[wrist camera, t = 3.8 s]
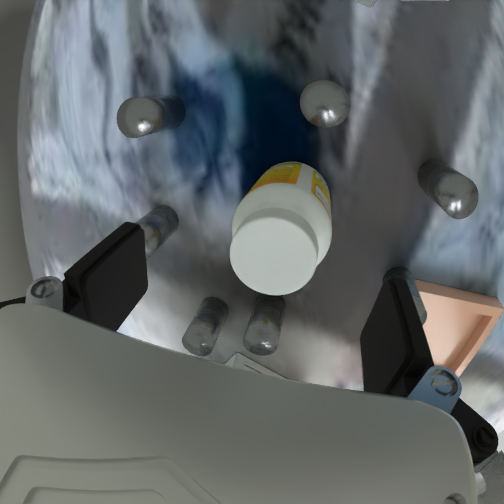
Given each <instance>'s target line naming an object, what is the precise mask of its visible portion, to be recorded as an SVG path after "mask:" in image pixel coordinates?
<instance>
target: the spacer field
mask: <svg viewBox="0 0 504 504" xmlns="http://www.w3.org/2000/svg"><path fill="white" fill-rule="evenodd" d="M300 107H301V111H302V113H303V115H304V116H305V118H306V119H307V120H308V121H309V122H311V123H312V124H314V125H316V126H319V127H324V128H329V127H334V126H337V125H339V124H340V123H342V122H343V121H344V120H345V118H346V117H347V115H348V113H349V110H350V100H349V97H348V95H347V93H346V91H345V90H344V89H343V88H342V87H341V86H340V85H339V84H337V83H335V82H333V81H330V80H318V81H314V82H312V83H310V84H309V85H308V86H307V87H306V88H305V89H304V90H303V92H302V94H301V98H300ZM184 116H185V107H184V104H183V103H182V101H181V100H180V99H179V98H177V97H175V96H150V97H134V98H129V99H127V100H126V101H124V102H123V103H122V105H121V106H120V108H119V110H118V113H117V124H118V127H119V129H120V131H121V132H122V133H123V134H124V135H125V136H127V137H130V138H137V137H141V136H144V135H148V134H152V133H156V132H160V131H164V130H168V129H172V128H175V127H177V126H178V125H179V124H180V123H181V122H182V121H183V119H184ZM418 181H419V184H420V186H421V188H422V189H423V190H424V191H425V192H426V193H427V194H428V195H429V196H430V197H431V198H432V199H433V200H434V201H435V202H436V203H437V204H438V205H439V206H440V207H441V208H442V209H443V210H444V211H445V212H446V213H447V214H448V215H449V216H451V217H452V218H455V219H463V218H466V217H468V216H469V215H470V214H471V213H472V212H473V211H474V210H475V208H476V206H477V203H478V190H477V187H476V185H475V184H474V182H473V181H472V180H470V179H469V178H467V177H466V176H464V175H462V174H461V173H459V172H458V171H456V170H454V169H453V168H451V167H449V166H447V165H446V164H444V163H442V162H440V161H438V160H429V161H427V162H425V163H424V164H423V165H422V166H421V168H420V170H419V173H418ZM136 224H140V226H141V228H142V229H144V232H145V250H146V260H147V259H148V258H149V257H150V256H151V255H152V254H153V253H154V252H155V251H156V250H157V249H158V248H159V247H160V246H161V245H162V244H163V243H164V242H165V241H166V240H167V239H168V238H169V237H170V236H171V235H172V234H173V233H174V232H175V231H176V230H177V228H178V225H179V220H178V217H177V215H176V213H175V212H174V210H172V209H171V208H170V207H167V206H158V207H156V208H155V209H154V210H152V211H151V212H150V213H148V214H147V215H145V216H144V217H143V218H142V219H140V220H139V221H138V222H136ZM391 277H396V278H401V279H405V280H406V281H407V284H408V287H409V289H410V292H411V295H412V297H413V300H414V303H415V306H416V308H417V311H418V314H419V317H420V320H421V323H422V326H423V325H424V323H425V322H426V319H427V312H426V309H425V306H424V304H423V301H422V299H421V296H420V294H419V291H418V289H417V286H416V284H415V282H414V279H413V277H412V275H411V273H410V271H409V270H408V269H406V268H403V267H397V268H393V269H391V270H390V271H388V272H387V273H386V275H385V276H384V279H383V283H384V281H385V280H386V279H387V280H389V279H390V278H391ZM284 311H285V301H284V300H283V298H282V297H281V296H279V295H268V294H264V293H263V294H261V295H260V296H259V297H258V298H257V300H256V303H255V306H254V309H253V312H252V315H251V318H250V321H249V324H248V327H247V330H246V333H245V336H244V339H243V343H244V346H245V347H246V348H247V349H248V350H249V351H250V352H252V353H254V354H257V355H269V354H272V353H273V352H275V350H276V349H277V345H278V340H279V335H280V331H281V326H282V321H283V316H284ZM227 314H228V307H227V305H226V304H225V303H224V302H223V301H222V300H220V299H218V298H214V297H209V298H206V299H205V300H204V301H203V302H202V304H201V306H200V307H199V309H198V311H197V313H196V315H195V316H194V318H193V320H192V322H191V324H190V325H189V327H188V329H187V331H186V333H185V334H184V336H183V338H182V343H183V345H184V347H185V348H186V349H187V350H188V351H189V352H191V353H193V354H195V355H198V356H206V355H209V354H210V353H211V351H212V349H213V347H214V344H215V342H216V340H217V337H218V335H219V333H220V331H221V328H222V326H223V324H224V321H225V319H226V317H227Z"/></svg>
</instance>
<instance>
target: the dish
mask: <svg viewBox="0 0 504 504" xmlns="http://www.w3.org/2000/svg"><path fill="white" fill-rule="evenodd" d="M414 282H415V284H416V286H417V289H418V291H419V294H420V296H421V299H422V301H423V304H424V306H425V309H426V312H427V319H426V322H425V323H424V325H423V329H424V332H425V335H426V338H427V341H428V345H429V348H430V351H431V355H432V358H433V362H434V365H435V366H443V367H446V368H448V369H450V370H452V371H453V372H454V373H455V374H456V375H457V377H459V376H460V375H461V373H462V372H463V371H464V369H465V368H466V367H467V365H468V364H469V363H470V361H471V360H472V359H473V357H474V356H475V354H476V353H477V352H478V350H479V349H480V347H481V346H482V344H483V343H484V341H485V340H486V338H487V337H488V335H489V334H490V332H491V331H492V329H493V327H494V326H495V324H496V323H497V321H498V319H499V318H500V316H501V314H502V313H503V311H504V308H503V306H502V304H501V303H500V301H499V300H498V298H495V297H491V296H487V295H482V294H478V293H474V292H469V291H465V290H461V289H456V288H452V287H447V286H443V285H439V284H434V283H430V282H425V281H421V280H416V279H414ZM362 379H363V368H362Z"/></svg>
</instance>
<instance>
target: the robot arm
mask: <svg viewBox="0 0 504 504" xmlns="http://www.w3.org/2000/svg"><path fill="white" fill-rule="evenodd" d="M64 277H65V279H64V280H63V281H61V280H60V279H59V278H57V277H53V276H46V277H42V278H39V279H37V280H35V281H34V282H33V283H31V285H30V286H29V287H28V290H27V295H26V297H21V298H17V299H13V300H9V301H4V302H0V504H504V453H503V452H502V451H500V452H499V453H498V451H497V446H498V436H497V433H496V431H495V429H494V428H493V427H492V426H491V425H490V424H489V423H488V422H487V421H486V420H485V419H483V418H482V417H481V416H480V415H479V414H478V413H476V412H475V411H474V410H473V409H472V408H471V407H469V406H468V405H467V404H466V403H465V402H464V401H462V400H461V399H460V398H459V396H460V394H461V390H462V387H461V382H460V380H459V378H458V377H457V375H456V374H455V373H454V372H453V371H452V370H450V369H448V368H446V367H443V366H435V365H434V362H433V358H432V355H431V351H430V348H429V345H428V341H427V338H426V335H425V332H424V329H423V326H422V323H421V320H420V317H419V314H418V311H417V308H416V306H415V303H414V300H413V297H412V295H411V292H410V289H409V287H408V284H407V281H406V280H405V279H401V278H396V277H391V278H390V279H389V280H387V279H386V280H385V281H384V283H383V285H382V288H381V290H380V293H379V295H378V297H377V300H376V302H375V304H374V306H373V309H372V311H371V313H370V315H369V318H368V320H367V322H366V324H365V326H364V328H363V330H362V333H361V337H360V344H361V356H362V368H363V383H364V391H357V390H350V389H343V388H337V387H331V386H324V385H318V384H312V383H307V382H301V381H296V380H291V379H286V378H281V377H276V376H271V375H266V374H262V373H257V372H253V371H249V370H244V369H240V368H236V367H232V366H228V365H224V364H220V363H216V362H212V361H209V360H205V359H201V358H198V357H194V356H191V355H187V354H184V353H180V352H177V351H174V350H170V349H167V348H164V347H160V346H157V345H154V344H151V343H148V342H145V341H142V340H139V339H136V338H133V337H130V336H127V335H124V334H121V333H119V332H116V331H117V330H118V328H119V327H120V326H121V324H122V323H123V322H124V320H125V319H126V318H127V316H128V315H129V314H130V312H131V311H132V310H133V308H134V307H135V306H136V304H137V303H138V302H139V301H140V299H141V298H142V297H143V295H144V294H145V293H146V291H147V288H148V278H147V265H146V250H145V232H144V229H142V228H141V226H140V224H136V223H131V222H125V223H124V224H122V225H121V226H120V227H119V228H117V229H116V230H115V231H114V232H112V233H111V234H110V235H109V236H107V237H106V238H105V239H104V240H102V241H101V242H100V243H99V244H98V245H96V246H95V247H94V248H93V249H92V250H90V251H89V252H88V253H87V254H86V255H84V256H83V257H82V258H81V259H80V260H79V261H78V262H76V263H75V264H74V265H73V266H72V267H71V268H70V269H68V270H67V271H66V272H65V273H64Z"/></svg>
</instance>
